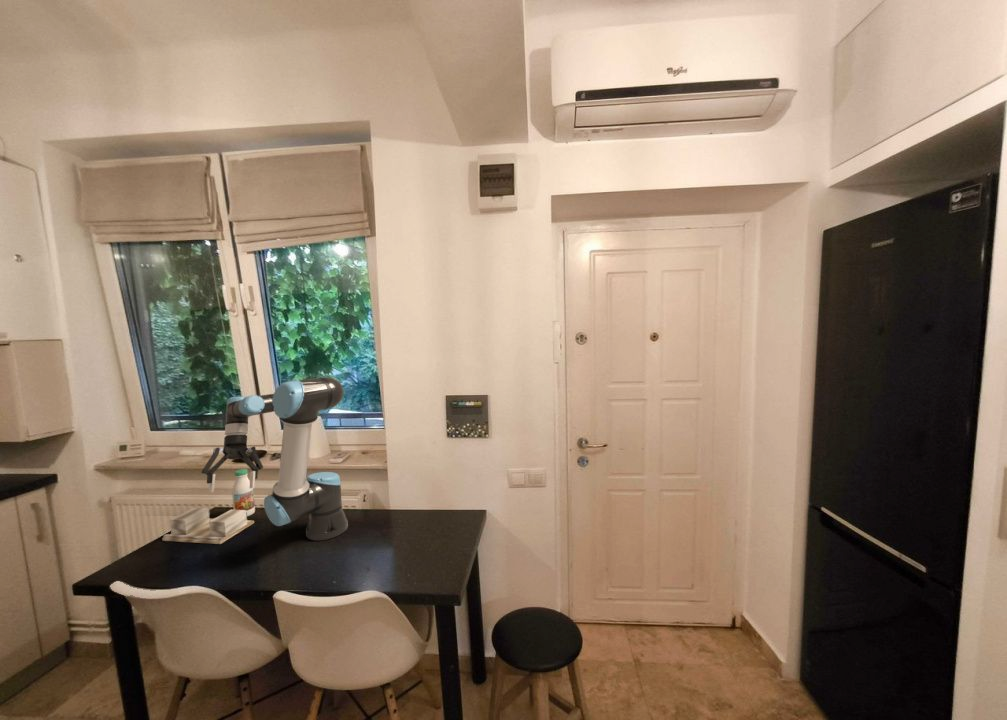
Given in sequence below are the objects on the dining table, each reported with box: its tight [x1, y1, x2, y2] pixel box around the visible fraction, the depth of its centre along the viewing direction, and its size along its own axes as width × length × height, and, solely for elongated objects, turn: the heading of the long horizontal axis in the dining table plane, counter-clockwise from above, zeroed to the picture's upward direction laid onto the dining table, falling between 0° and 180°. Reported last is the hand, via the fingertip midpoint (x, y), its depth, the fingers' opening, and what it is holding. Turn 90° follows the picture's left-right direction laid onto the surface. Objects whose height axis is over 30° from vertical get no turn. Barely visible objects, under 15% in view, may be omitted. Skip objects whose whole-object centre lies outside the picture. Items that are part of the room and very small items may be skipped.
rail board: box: [162, 507, 255, 545], centre depth 152 cm, size 26×16×7 cm, turn 81°
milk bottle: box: [231, 468, 256, 517], centre depth 165 cm, size 8×8×20 cm
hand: (232, 490), depth 145 cm, fingers open, 13 cm apart
